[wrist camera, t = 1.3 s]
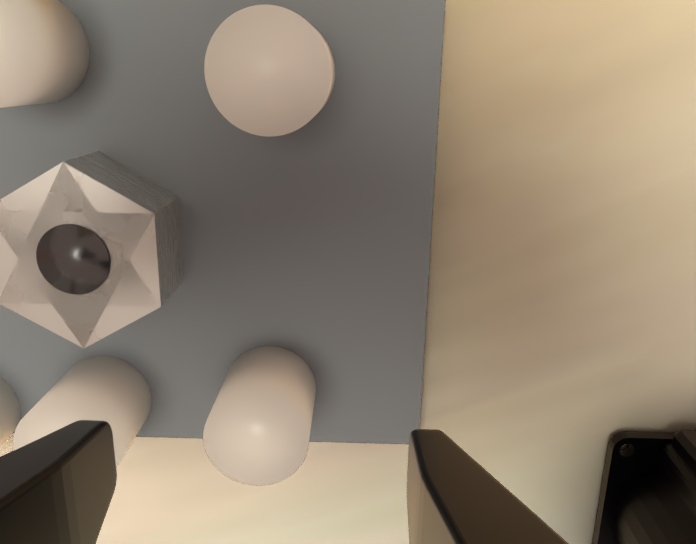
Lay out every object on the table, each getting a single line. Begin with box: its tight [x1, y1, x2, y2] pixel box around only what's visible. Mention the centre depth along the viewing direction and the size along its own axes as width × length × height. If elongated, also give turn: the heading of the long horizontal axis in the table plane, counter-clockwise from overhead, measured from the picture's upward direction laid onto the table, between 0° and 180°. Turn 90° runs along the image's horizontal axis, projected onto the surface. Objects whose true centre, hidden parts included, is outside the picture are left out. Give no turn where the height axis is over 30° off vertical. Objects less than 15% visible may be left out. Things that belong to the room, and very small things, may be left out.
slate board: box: [0, 0, 445, 444], centre depth 20 cm, size 14×24×2 cm, turn 89°
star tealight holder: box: [0, 151, 183, 348], centre depth 19 cm, size 5×5×2 cm
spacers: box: [0, 0, 335, 486], centre depth 18 cm, size 14×14×3 cm
